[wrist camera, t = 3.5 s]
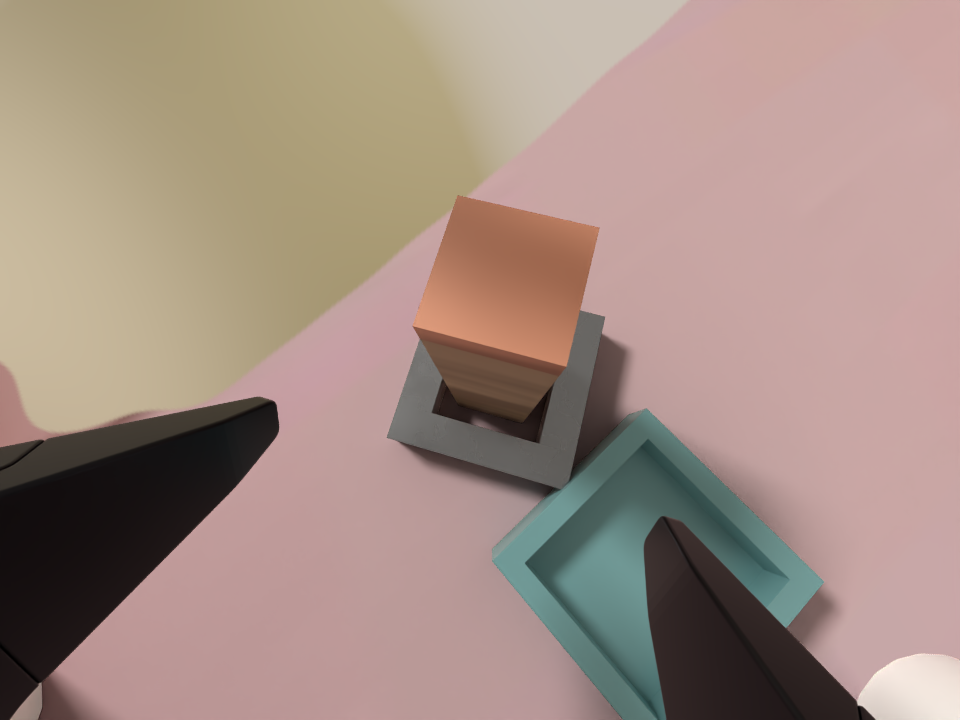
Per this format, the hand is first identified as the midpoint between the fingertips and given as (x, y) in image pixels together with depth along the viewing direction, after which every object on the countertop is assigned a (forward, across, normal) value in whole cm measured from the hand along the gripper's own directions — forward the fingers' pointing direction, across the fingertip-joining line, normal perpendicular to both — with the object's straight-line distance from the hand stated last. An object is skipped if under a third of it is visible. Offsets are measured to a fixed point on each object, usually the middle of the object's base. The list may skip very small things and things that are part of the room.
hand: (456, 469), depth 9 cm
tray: (+7, +9, -10) cm, 15 cm away
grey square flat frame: (+12, 0, -6) cm, 13 cm away
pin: (+12, 0, -6) cm, 13 cm away
